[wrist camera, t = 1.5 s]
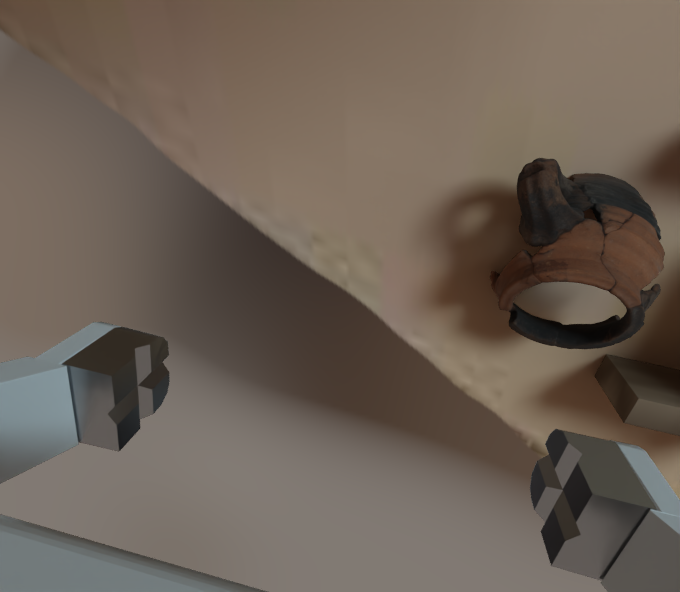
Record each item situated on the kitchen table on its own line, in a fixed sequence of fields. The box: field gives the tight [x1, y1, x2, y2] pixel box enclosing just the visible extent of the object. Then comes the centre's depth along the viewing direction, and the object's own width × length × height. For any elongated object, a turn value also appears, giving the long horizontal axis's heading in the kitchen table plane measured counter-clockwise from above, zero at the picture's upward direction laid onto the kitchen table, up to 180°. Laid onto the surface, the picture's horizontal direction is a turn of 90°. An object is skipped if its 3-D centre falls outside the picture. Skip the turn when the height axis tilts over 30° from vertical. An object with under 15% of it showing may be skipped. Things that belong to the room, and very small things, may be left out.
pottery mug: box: [490, 158, 665, 349], centre depth 25 cm, size 12×10×8 cm
